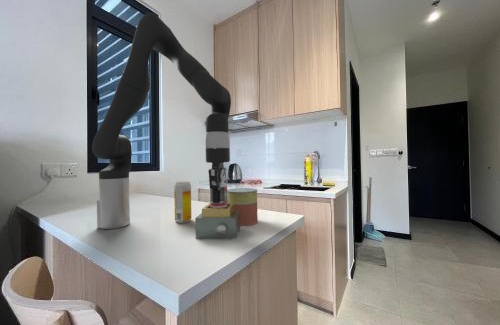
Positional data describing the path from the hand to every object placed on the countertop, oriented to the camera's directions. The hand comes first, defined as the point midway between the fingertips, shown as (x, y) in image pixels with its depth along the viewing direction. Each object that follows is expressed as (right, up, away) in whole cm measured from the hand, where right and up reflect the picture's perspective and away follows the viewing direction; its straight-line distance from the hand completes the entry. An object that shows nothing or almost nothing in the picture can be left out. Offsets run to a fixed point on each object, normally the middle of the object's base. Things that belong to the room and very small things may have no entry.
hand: (218, 200), depth 67 cm
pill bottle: (0, -2, 0) cm, 2 cm away
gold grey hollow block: (0, -10, -1) cm, 10 cm away
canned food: (+7, -10, +11) cm, 17 cm away
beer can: (-16, -11, +14) cm, 24 cm away
